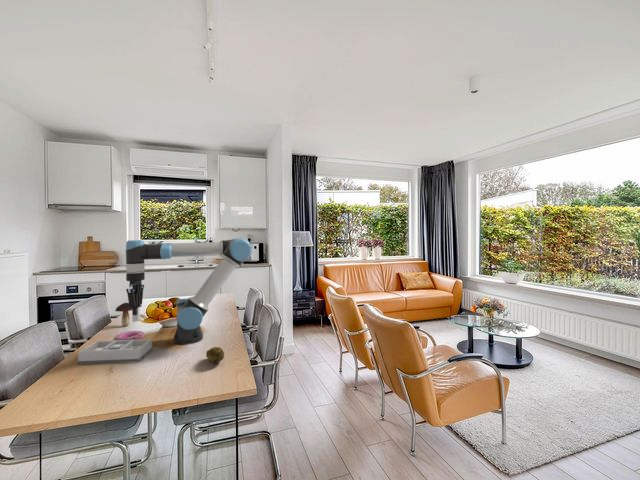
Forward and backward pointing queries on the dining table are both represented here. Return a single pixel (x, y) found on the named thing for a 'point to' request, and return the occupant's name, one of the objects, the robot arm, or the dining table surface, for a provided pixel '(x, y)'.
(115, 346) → the key slate
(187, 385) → the dining table surface
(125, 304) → the decorative mushroom
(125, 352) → the keypad board
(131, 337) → the donut
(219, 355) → the green bumpy oval piece
